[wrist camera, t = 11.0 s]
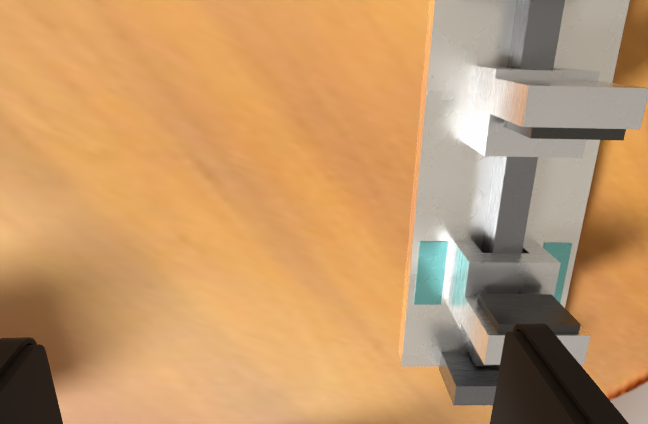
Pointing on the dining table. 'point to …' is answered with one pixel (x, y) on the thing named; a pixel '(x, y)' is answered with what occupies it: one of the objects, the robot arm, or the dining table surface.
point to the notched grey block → (508, 298)
